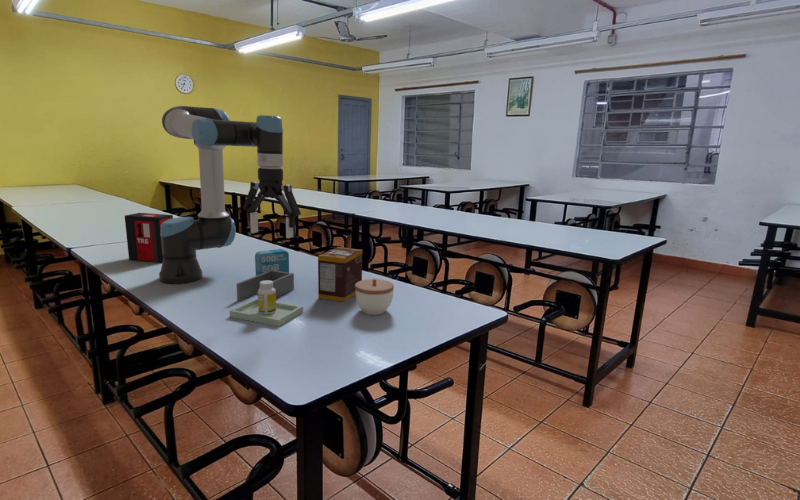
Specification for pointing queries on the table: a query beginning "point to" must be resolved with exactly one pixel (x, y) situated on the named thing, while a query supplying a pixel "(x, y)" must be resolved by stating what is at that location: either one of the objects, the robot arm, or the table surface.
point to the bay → (249, 287)
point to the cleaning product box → (145, 236)
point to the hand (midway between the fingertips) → (271, 235)
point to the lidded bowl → (374, 295)
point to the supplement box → (339, 273)
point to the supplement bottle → (266, 297)
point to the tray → (277, 318)
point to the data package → (271, 261)
